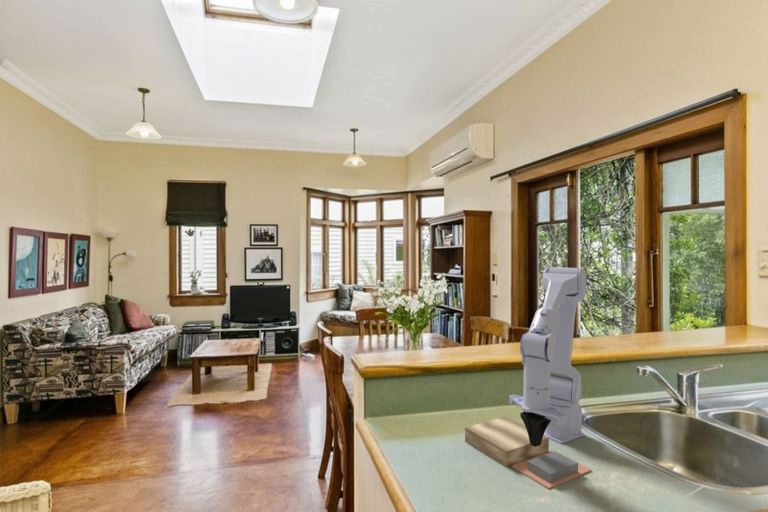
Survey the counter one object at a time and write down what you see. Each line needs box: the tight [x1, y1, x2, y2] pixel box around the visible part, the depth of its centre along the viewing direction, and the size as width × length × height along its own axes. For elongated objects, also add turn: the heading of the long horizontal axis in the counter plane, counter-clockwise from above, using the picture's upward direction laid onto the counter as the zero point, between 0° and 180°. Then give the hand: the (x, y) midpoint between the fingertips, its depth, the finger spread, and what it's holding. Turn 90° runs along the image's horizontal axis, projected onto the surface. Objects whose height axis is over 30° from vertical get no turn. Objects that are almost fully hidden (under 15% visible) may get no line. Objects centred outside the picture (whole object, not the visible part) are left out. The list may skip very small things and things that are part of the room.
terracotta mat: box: [510, 450, 592, 490], centre depth 95 cm, size 14×10×1 cm
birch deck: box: [464, 416, 550, 467], centre depth 106 cm, size 14×14×4 cm
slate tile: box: [528, 450, 579, 484], centre depth 94 cm, size 9×6×2 cm, turn 120°
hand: (535, 444), depth 98 cm, fingers closed
